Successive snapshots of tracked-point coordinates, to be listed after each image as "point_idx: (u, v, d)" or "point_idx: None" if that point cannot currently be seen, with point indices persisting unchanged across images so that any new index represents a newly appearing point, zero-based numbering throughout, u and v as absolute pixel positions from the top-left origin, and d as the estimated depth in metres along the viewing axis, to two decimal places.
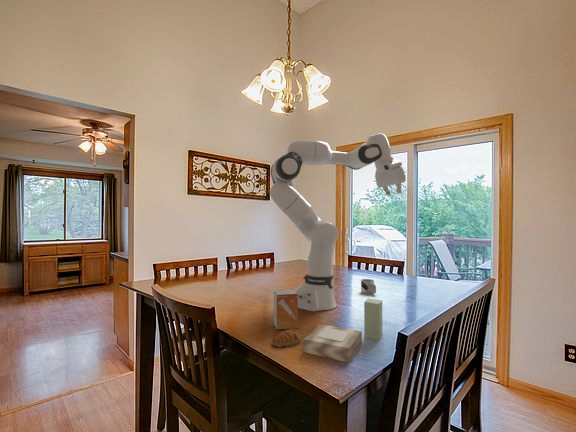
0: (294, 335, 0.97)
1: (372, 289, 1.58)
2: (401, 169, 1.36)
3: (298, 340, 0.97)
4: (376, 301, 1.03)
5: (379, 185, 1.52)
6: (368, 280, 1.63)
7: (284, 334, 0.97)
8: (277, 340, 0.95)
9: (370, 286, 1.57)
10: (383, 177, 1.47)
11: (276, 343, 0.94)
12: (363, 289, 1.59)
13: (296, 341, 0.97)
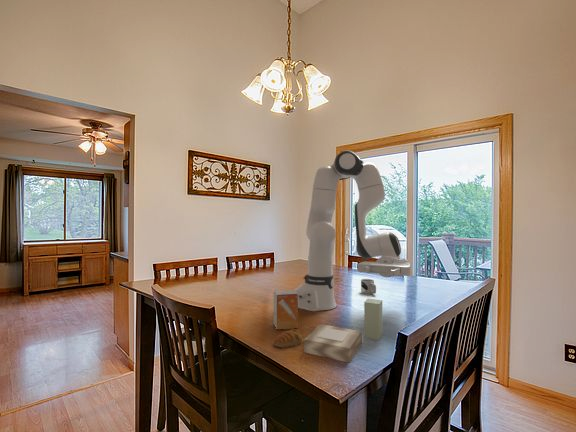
0: (296, 335, 0.97)
1: (372, 289, 1.58)
2: None
3: (299, 340, 0.97)
4: (376, 301, 1.03)
5: (364, 263, 1.22)
6: (368, 280, 1.63)
7: (286, 334, 0.97)
8: (279, 340, 0.95)
9: (370, 286, 1.57)
10: (379, 263, 1.23)
11: (278, 344, 0.94)
12: (363, 289, 1.59)
13: (297, 341, 0.97)
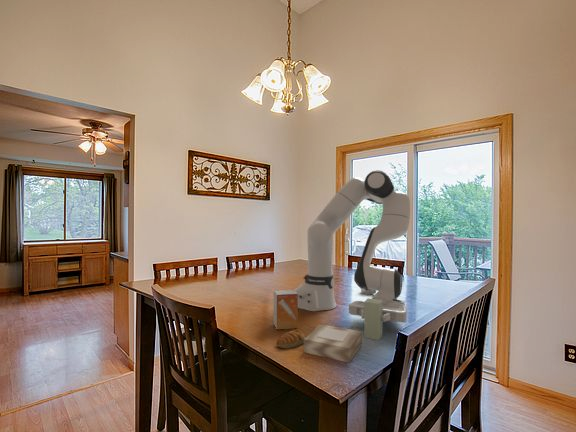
0: (298, 336, 0.97)
1: None
2: None
3: (302, 341, 0.97)
4: (376, 301, 1.03)
5: (356, 305, 1.11)
6: None
7: (288, 335, 0.96)
8: (282, 341, 0.94)
9: None
10: None
11: (282, 344, 0.93)
12: (363, 289, 1.59)
13: (300, 342, 0.96)
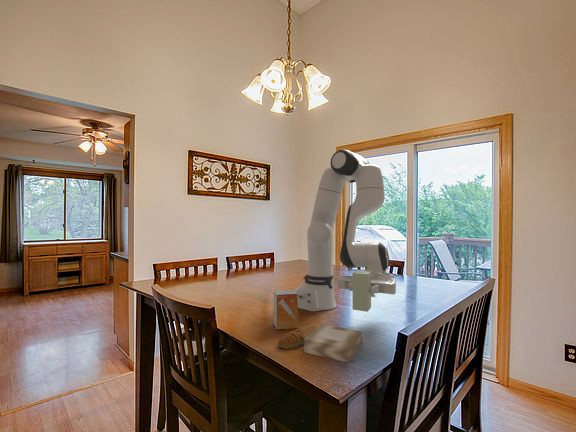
0: (300, 336, 0.96)
1: None
2: None
3: None
4: (364, 272, 1.00)
5: (344, 278, 1.08)
6: None
7: (290, 335, 0.96)
8: (284, 342, 0.94)
9: None
10: None
11: (283, 345, 0.93)
12: None
13: (302, 342, 0.96)
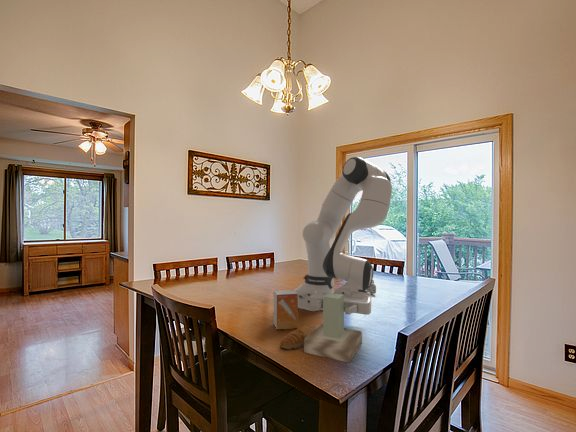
0: (302, 336, 0.96)
1: (372, 289, 1.58)
2: None
3: None
4: (336, 296, 0.94)
5: (317, 296, 1.02)
6: None
7: (292, 336, 0.96)
8: (286, 342, 0.93)
9: (370, 286, 1.57)
10: None
11: (286, 345, 0.93)
12: None
13: None
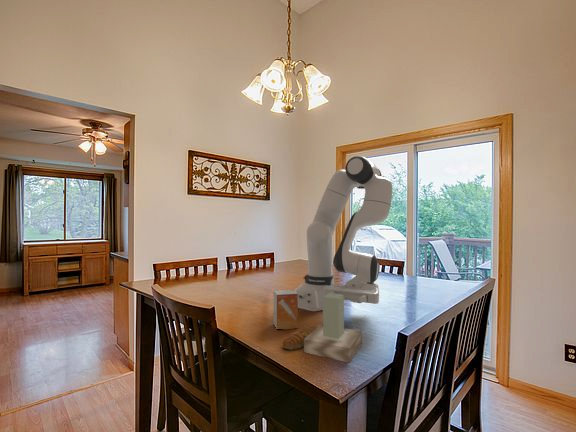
0: (304, 336, 0.96)
1: None
2: None
3: None
4: (336, 296, 0.94)
5: (330, 288, 1.13)
6: None
7: (294, 336, 0.95)
8: (289, 343, 0.93)
9: None
10: (347, 288, 1.14)
11: (289, 346, 0.92)
12: None
13: None
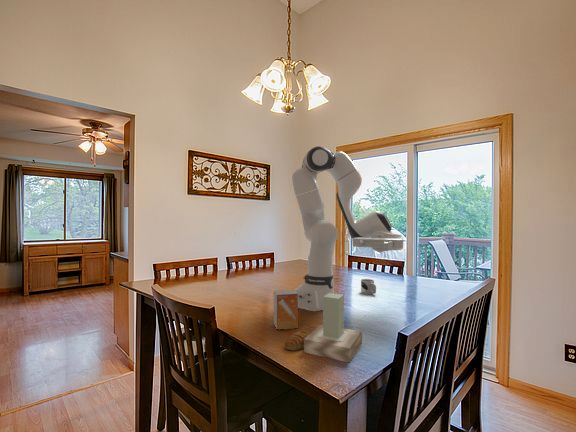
0: None
1: (372, 289, 1.58)
2: None
3: None
4: (336, 296, 0.94)
5: (358, 238, 1.26)
6: (368, 280, 1.63)
7: (296, 337, 0.95)
8: (291, 343, 0.92)
9: (370, 286, 1.58)
10: None
11: (291, 346, 0.92)
12: (363, 289, 1.59)
13: None
